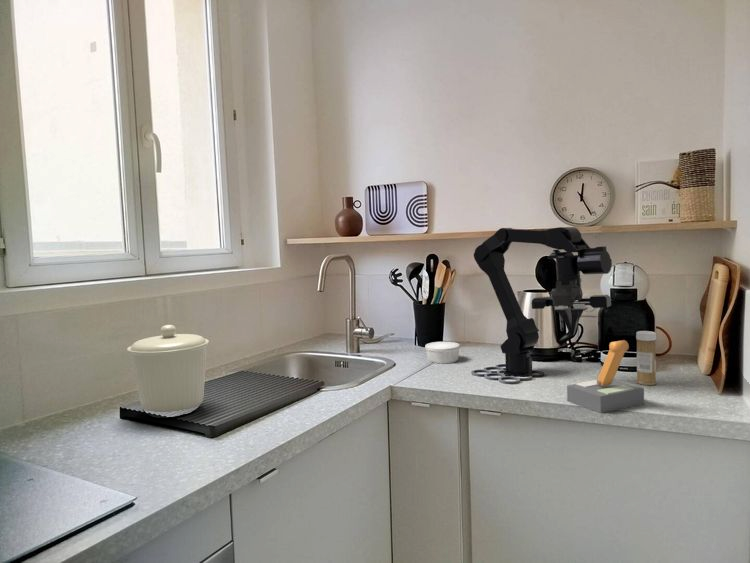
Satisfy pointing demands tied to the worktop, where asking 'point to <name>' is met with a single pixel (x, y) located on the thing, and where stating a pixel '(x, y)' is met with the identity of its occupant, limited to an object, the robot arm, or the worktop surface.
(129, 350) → the canister
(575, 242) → the robot arm
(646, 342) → the sprinkles bottle
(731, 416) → the worktop surface
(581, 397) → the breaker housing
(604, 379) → the lever
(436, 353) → the ramekin
